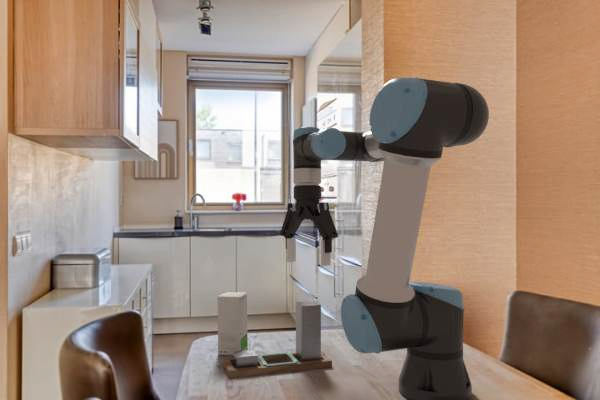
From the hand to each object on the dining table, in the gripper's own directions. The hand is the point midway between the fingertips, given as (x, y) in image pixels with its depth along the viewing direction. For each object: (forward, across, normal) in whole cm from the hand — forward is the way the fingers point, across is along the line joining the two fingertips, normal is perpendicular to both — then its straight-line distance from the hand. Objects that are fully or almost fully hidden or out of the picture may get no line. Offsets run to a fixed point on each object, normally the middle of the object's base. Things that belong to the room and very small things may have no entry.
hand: (307, 263), depth 135 cm
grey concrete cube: (+24, +1, +20) cm, 32 cm away
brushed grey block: (+24, -6, +6) cm, 26 cm away
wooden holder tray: (+24, -3, +13) cm, 28 cm away
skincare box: (+24, +14, +15) cm, 32 cm away
